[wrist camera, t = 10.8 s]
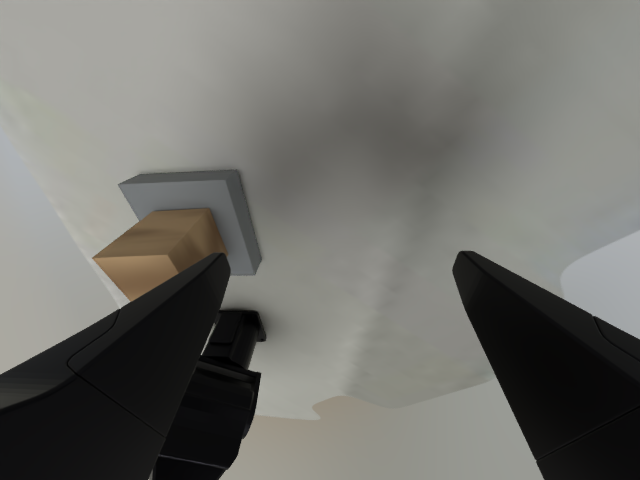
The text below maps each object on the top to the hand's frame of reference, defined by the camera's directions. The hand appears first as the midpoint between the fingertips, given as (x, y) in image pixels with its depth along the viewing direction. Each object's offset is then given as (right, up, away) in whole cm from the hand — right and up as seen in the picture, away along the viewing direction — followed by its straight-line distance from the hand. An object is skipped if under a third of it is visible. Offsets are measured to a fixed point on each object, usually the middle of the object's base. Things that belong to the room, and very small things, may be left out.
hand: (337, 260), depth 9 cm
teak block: (-12, +1, +11) cm, 17 cm away
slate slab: (-12, +3, +14) cm, 19 cm away
